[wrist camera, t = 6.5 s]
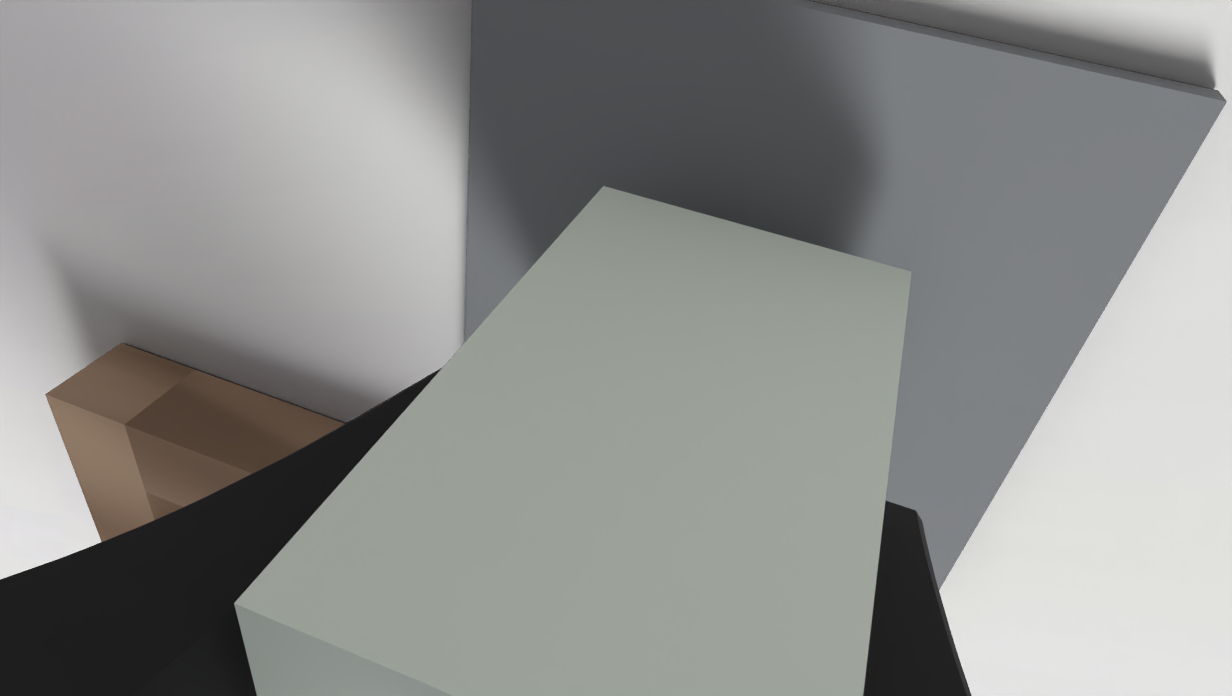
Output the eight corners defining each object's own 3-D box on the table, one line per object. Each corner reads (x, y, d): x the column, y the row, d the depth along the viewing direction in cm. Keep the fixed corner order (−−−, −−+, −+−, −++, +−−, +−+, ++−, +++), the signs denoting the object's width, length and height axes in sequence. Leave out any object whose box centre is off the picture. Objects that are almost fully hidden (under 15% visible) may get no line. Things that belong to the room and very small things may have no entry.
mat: (931, 587, 15) (930, 604, 14) (472, 426, 16) (463, 439, 16) (1217, 90, 9) (1226, 102, 9) (487, -71, 11) (472, -66, 11)
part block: (820, 496, 12) (705, 1056, 7) (573, 413, 13) (297, 860, 8) (911, 272, 10) (844, 858, 5) (603, 185, 11) (233, 602, 5)
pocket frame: (490, 723, 23) (454, 793, 21) (197, 599, 25) (145, 654, 23) (506, 481, 17) (460, 553, 15) (121, 343, 19) (45, 394, 17)
